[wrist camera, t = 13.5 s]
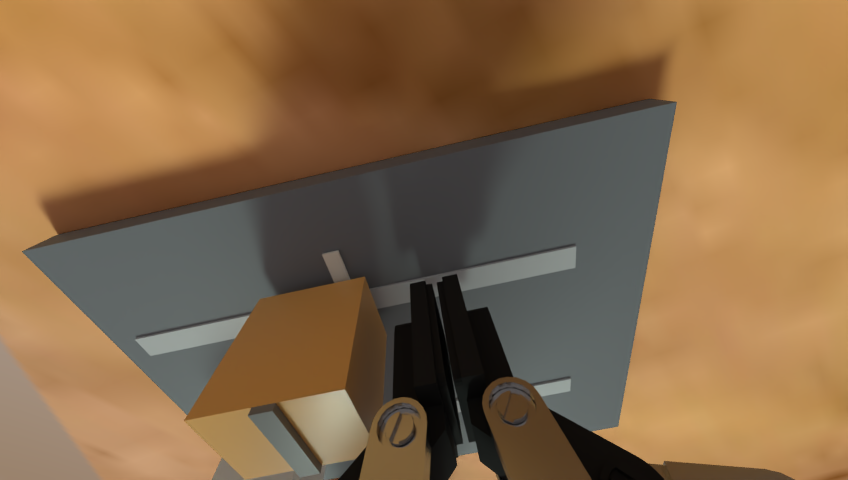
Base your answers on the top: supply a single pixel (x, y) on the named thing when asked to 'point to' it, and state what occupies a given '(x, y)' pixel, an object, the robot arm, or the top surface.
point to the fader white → (227, 476)
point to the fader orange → (297, 383)
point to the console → (404, 256)
